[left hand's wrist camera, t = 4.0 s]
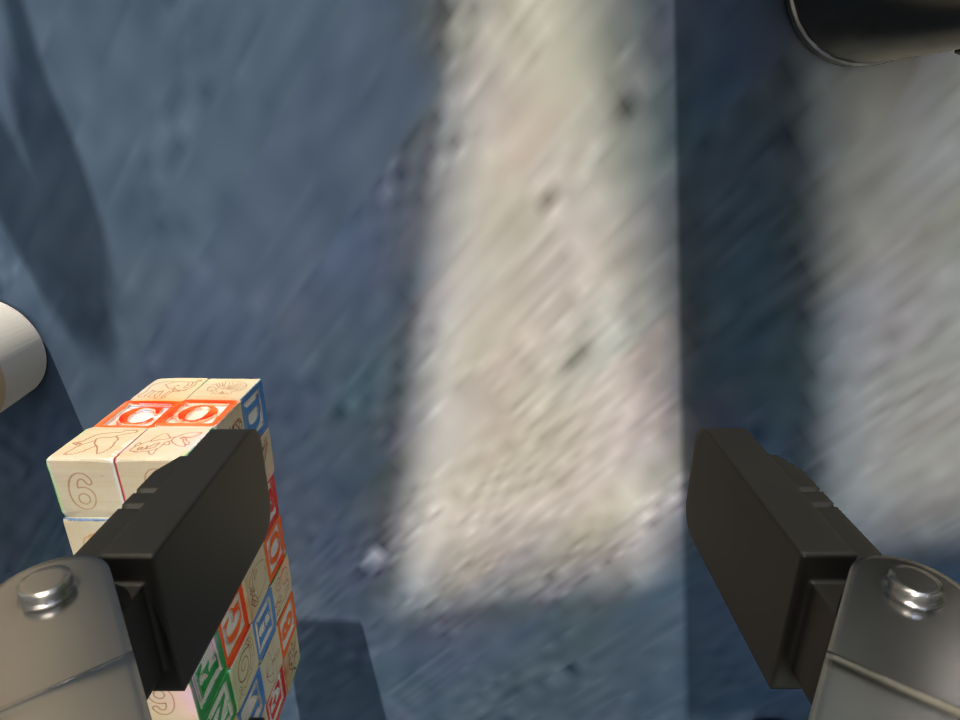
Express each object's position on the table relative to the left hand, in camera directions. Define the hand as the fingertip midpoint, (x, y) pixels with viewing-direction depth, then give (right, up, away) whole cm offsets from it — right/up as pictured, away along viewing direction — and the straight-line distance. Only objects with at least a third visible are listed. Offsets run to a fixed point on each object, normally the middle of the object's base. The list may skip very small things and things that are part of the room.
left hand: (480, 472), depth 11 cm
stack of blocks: (-16, -9, +27) cm, 32 cm away
